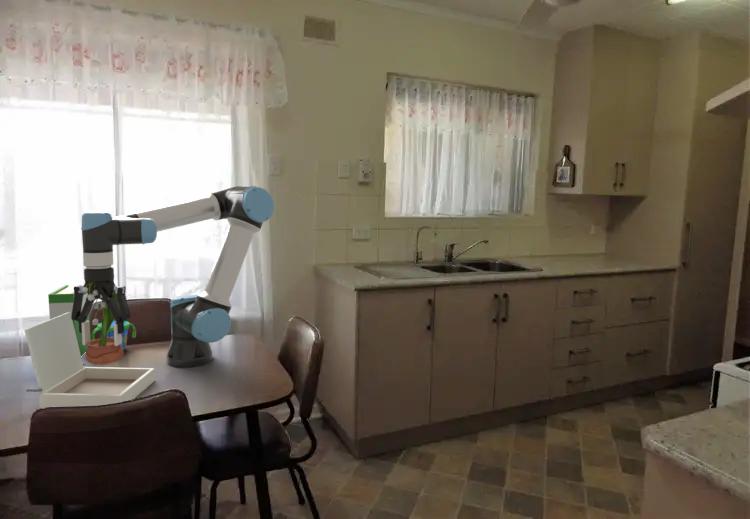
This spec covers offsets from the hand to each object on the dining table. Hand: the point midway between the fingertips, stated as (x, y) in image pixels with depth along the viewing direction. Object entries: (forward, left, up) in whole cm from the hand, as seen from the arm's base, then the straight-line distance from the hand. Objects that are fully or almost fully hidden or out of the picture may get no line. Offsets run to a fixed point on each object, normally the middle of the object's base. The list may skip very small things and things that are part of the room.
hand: (102, 344), depth 150 cm
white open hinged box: (+3, 0, -15) cm, 15 cm away
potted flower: (0, 0, -6) cm, 6 cm away
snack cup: (+17, -40, -15) cm, 46 cm away
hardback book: (+29, -34, -15) cm, 47 cm away
